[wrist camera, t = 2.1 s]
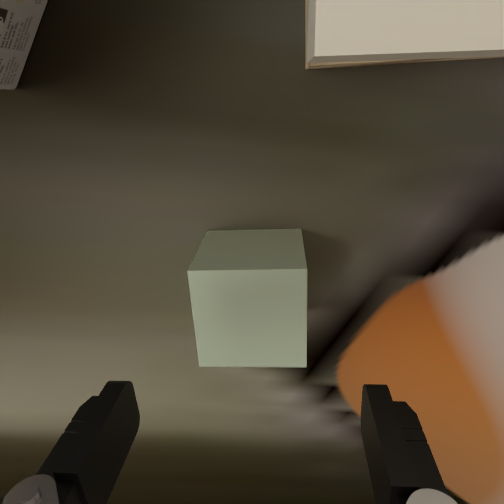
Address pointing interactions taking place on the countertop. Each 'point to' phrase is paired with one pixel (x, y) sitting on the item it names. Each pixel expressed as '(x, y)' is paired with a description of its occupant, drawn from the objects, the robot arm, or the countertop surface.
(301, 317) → the sage cube
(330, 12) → the tower top
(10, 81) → the coffee box
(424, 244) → the countertop surface
